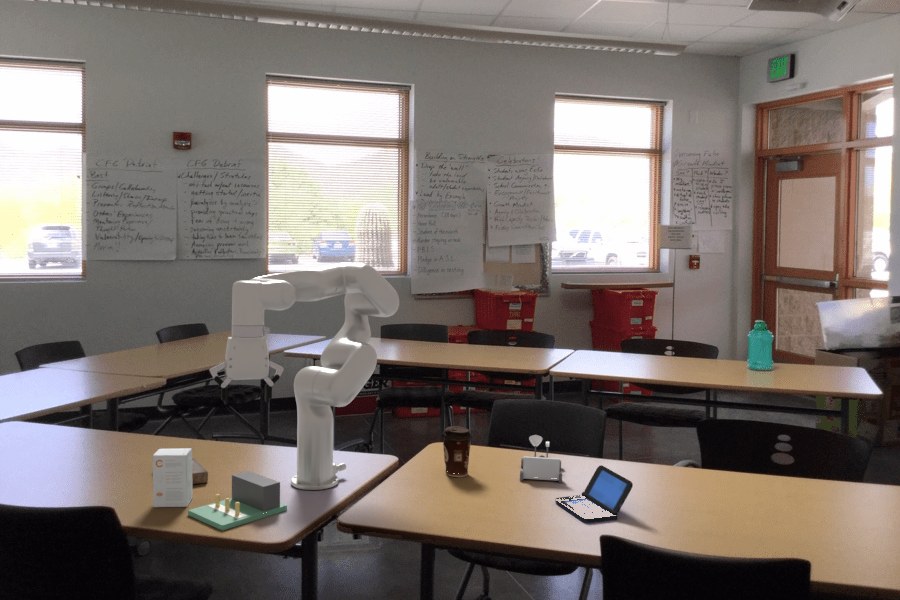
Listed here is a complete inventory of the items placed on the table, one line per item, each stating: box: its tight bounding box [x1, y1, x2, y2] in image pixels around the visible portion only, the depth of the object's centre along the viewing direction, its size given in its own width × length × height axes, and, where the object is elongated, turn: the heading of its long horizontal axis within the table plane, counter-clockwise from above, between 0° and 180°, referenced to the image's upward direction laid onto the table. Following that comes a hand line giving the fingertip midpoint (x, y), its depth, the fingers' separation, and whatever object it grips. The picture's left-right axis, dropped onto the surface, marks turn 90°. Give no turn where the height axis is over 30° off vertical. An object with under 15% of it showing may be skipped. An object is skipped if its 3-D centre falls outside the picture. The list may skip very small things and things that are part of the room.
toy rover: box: [519, 434, 563, 484], centre depth 222 cm, size 18×10×12 cm
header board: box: [187, 493, 288, 532], centre depth 185 cm, size 18×14×4 cm
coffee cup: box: [441, 425, 473, 478], centre depth 219 cm, size 9×8×13 cm
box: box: [192, 457, 209, 485], centre depth 211 cm, size 11×17×3 cm, turn 31°
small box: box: [152, 447, 194, 508], centre depth 190 cm, size 8×6×13 cm
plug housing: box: [231, 470, 281, 512], centre depth 189 cm, size 5×13×6 cm, turn 50°
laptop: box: [555, 465, 634, 524], centre depth 193 cm, size 16×13×9 cm
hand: (246, 402), depth 187 cm, fingers open, 9 cm apart
